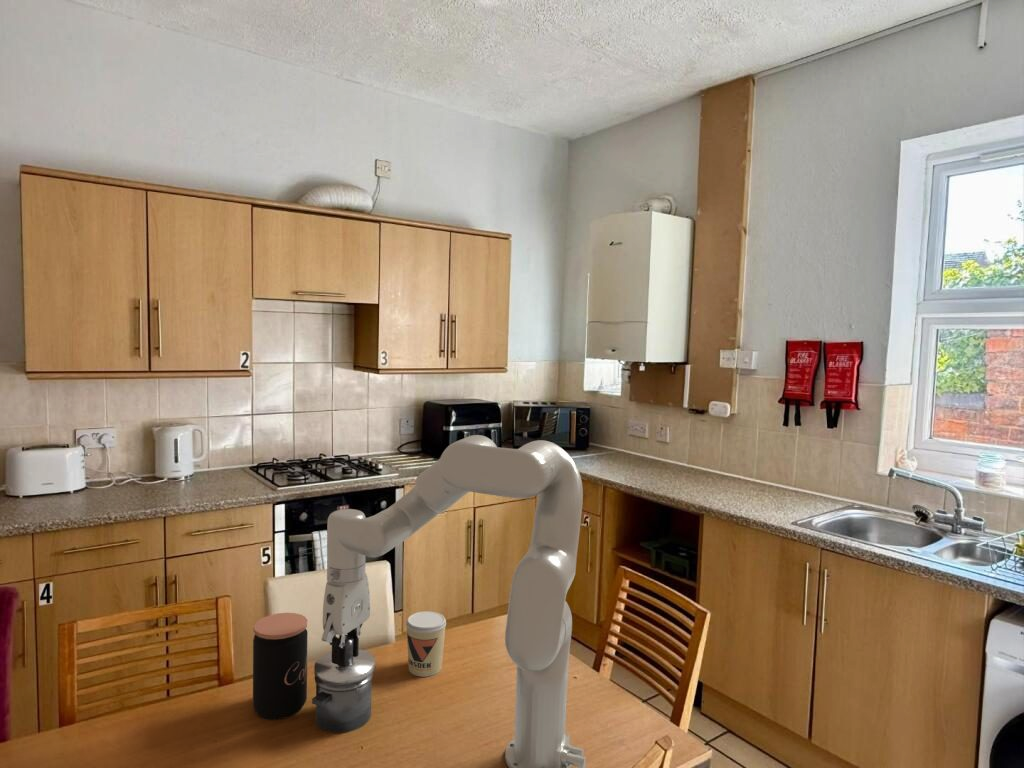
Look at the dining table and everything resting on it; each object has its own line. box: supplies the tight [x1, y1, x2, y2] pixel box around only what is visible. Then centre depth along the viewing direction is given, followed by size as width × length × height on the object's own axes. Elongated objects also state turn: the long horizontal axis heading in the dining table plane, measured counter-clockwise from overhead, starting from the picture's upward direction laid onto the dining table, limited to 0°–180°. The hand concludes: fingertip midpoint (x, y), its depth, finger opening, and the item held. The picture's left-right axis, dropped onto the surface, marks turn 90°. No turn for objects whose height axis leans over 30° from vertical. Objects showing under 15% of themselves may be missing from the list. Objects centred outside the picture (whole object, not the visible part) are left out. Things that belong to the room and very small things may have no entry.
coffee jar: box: [252, 612, 308, 721], centre depth 134 cm, size 11×11×18 cm
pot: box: [311, 671, 374, 734], centre depth 131 cm, size 12×17×9 cm
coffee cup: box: [405, 610, 447, 678], centre depth 151 cm, size 9×9×12 cm
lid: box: [313, 636, 376, 684], centre depth 131 cm, size 12×12×6 cm
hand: (345, 658), depth 131 cm, fingers closed on lid, 3 cm apart
